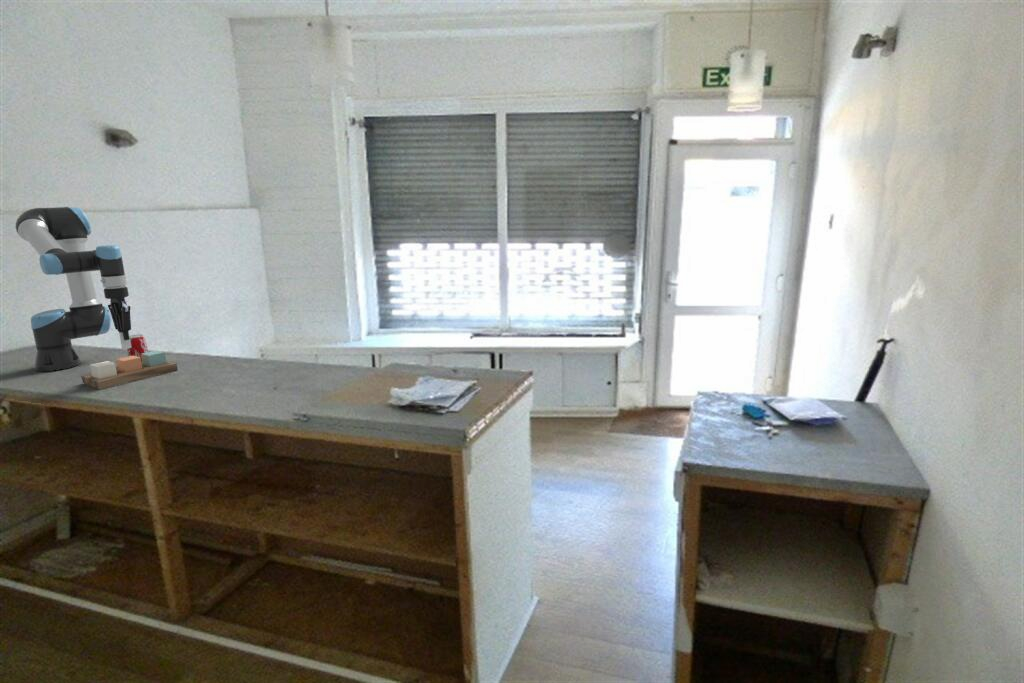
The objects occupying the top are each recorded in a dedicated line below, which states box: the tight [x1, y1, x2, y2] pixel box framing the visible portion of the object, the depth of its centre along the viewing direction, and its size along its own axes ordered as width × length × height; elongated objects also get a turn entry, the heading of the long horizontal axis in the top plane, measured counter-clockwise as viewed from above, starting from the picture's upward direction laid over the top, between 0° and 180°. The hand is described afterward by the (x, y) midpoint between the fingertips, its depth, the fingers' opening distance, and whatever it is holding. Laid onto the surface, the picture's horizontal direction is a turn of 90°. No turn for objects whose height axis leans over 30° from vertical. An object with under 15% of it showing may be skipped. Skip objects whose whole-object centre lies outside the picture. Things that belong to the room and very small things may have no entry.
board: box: [81, 360, 178, 390], centre depth 228 cm, size 14×28×3 cm, turn 146°
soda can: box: [126, 334, 149, 362], centre depth 245 cm, size 7×7×12 cm
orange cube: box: [115, 356, 142, 373], centre depth 227 cm, size 6×6×6 cm
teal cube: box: [141, 349, 167, 367], centre depth 234 cm, size 6×6×6 cm
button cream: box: [89, 360, 117, 379], centre depth 220 cm, size 6×6×6 cm
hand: (126, 348), depth 225 cm, fingers closed
